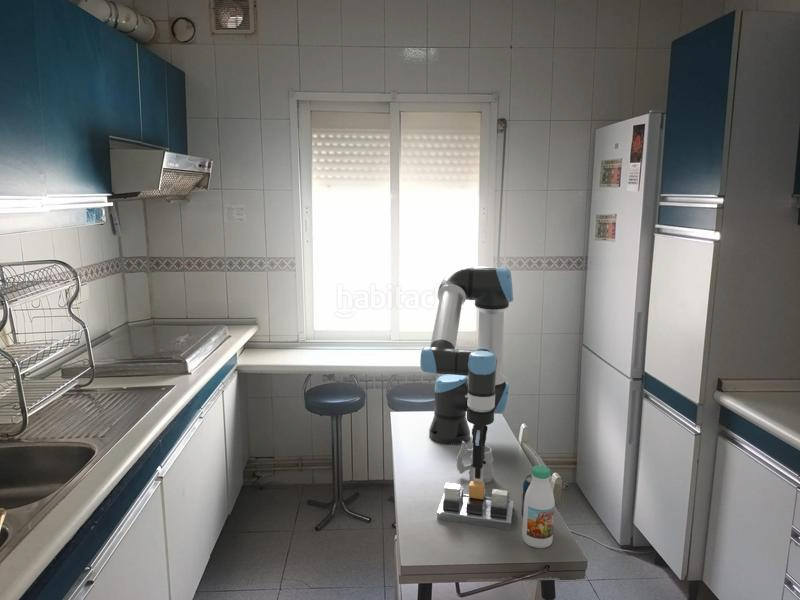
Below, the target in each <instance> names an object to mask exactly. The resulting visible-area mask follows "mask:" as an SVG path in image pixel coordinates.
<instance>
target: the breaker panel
mask: <svg viewBox="0 0 800 600" xmlns="http://www.w3.org/2000/svg"><path fill="white" fill-rule="evenodd" d="M464 489H465V488H464V486H461V484H459V483H452V482H451V483H450V482H446V483H445V485H444V490H443V491H444V493H443V495H442V498H441V500H440V503H439V506H438V509H437V512H436V514H437V515H436V520H439V521H446V522H452V523H453V522H454V523H458V524H459V523H460V524H466V525H473V526H480V527H486V528H494V529H502V530H508V531H511V529H512V523H513V522H512V521H513V512H514V500H510V493H509V492H508V490H505V489H497V488H492V492H491V497H490V496H487V489H484V498H483V499H477V498H469V493H464Z"/></svg>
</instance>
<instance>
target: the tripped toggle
mask: <svg viewBox="0 0 800 600" xmlns="http://www.w3.org/2000/svg"><path fill="white" fill-rule="evenodd" d="M485 485H486V483H484V482H476V481H472V480H470V481H469V484H468V494H469V498H477V499H483V498H484V490H485V487H486V486H485Z"/></svg>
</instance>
